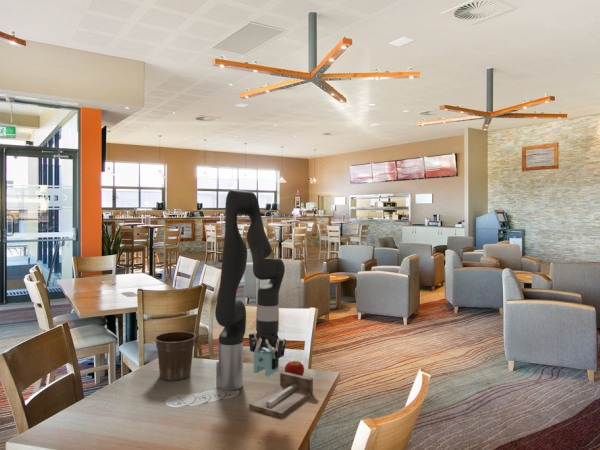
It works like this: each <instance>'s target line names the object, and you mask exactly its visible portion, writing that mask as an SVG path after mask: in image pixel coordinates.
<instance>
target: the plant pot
mask: <svg viewBox="0 0 600 450" xmlns="http://www.w3.org/2000/svg"><path fill="white" fill-rule="evenodd" d="M196 338H197V335H196V334H195V333H194V332H190V331H170V332H169V331H168V332H163V333H160V334H158V335H156V336H154V341H155V345H156V350H157V357H158V358H157V359H158V369H159V378H160V379H162V380H164V381H172V382H173V381H180V380H181V379H187V378H189V377H190V376H191V374H192V372H191V371H192V364H193V363H192V361H193V352H194V346H195V341H196V340H195V339H196Z"/></svg>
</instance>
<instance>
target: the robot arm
mask: <svg viewBox="0 0 600 450" xmlns="http://www.w3.org/2000/svg"><path fill="white" fill-rule="evenodd" d="M224 208H225V212H224V213H225V214H224V215H225V216H224V217H225V218H224V219H225V220H224V223H225V225H224V238H223V239H224V240H223V248H222V258H221V272H220V279H219V281H220V282H219V290H218V294H217V300H216V304H215V312H214V313H215V315H214V316H215V320H216V322H217V323H218V325H220V326H221V327H223V328H222V329H223V330H221V332H220V333H219V336H218V360H217V361H216V363H215V364H216V367H215V368H216V372H215V373H216V374H215V375H216V377H215V379H216V382H215V384H216V385H215V387H217V388H219V389H220V390H222V391H229V392H230V391H237V390H240V389H242V387H243V382H244V381H243V379H244V377H243V376H244V375H243V373H244V372H243V371H244V337H245V335H246V326H247V325H246V324H247V310H246V306H245V304H244V302H243V301H242V300H240V299H239V298H236V297H237V293H238V292H237V291H238V290H239V289H238V288H239V285H240V283H241V281H242V278H243V276H244V275H245V271H246V268H247V261H248V259H247V258H248V248H249V250H250V253H251V256H252V273H253V276H254V277H255V278H256V279H258V280H260V281H265V280H266V281H267V280H269V282H268V283H267V284H265V285H262V286H261V287H259V288H258V290H257V307H256V315H255V317H256V321H255V323H256V324H255V326H256V327H255V331H256V332H251V333H249V334H248V341H249V344H248V345H249V350H250V352H251V353H254V352H255V351H257V350H260V349H263V348H267V349H269V352H270V353H271V354H272V358H273V359H272V370H275V369H277V367H278V358H279V359H280V358H282V357H284V356H285V351H286V344H287V340H286V339H285V338H282V339H281V338H280V337H279V336H278V333H279V325H280V320H279V319H280V307H279V303H280V302H279V300H280V299H279V298H280V296H279V294H280V290H281V286H282V282H283V278H284V275H285V267H286V266H285V263H284V261H283V260H282V259H281V258H279V257H270V255H271V254H272V252H273V250H272V249H273V248H272V245H271V243H270V240H269V238H268V237H267V236H268V235H267V233H266V231H265V228H264V223H263V218H262V213H261V208H260V205H259V201H258V197H257V196H256V194H255V193H254V192H252V191H247V190H238V189H231V190H229V191H228V192H227V195H226V198H225V206H224ZM238 216H248V218H249V219H250V225H249V228H248V229H247V233H246V241H247V244H248V248H247V245H246V243H245V240H244V238H243V237H242V235H241V233H240V230H239V227H238Z"/></svg>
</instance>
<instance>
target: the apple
mask: <svg viewBox="0 0 600 450" xmlns="http://www.w3.org/2000/svg"><path fill="white" fill-rule="evenodd" d="M284 372H288V373H292V374H296V375H301V376H304V372H305V367H304V364H303V363H302V362H301V361H297V360H295V361H288V362H287V363H286V364H285V367H284Z"/></svg>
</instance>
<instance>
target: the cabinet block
mask: <svg viewBox="0 0 600 450" xmlns="http://www.w3.org/2000/svg"><path fill="white" fill-rule="evenodd" d="M272 359H273V358H272V354H271V353H270V352H269V349H267V348H263V349H260V350H257V351H255V352H253V373H255V374H258V373H260V372H262V371H265V373H264V374H265V375H264V376H265V377H270V376H271V375H274V374H275V373H277V372H279V368H280V366H279V361H280V358H278V367H277V369H275V370H272Z"/></svg>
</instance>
